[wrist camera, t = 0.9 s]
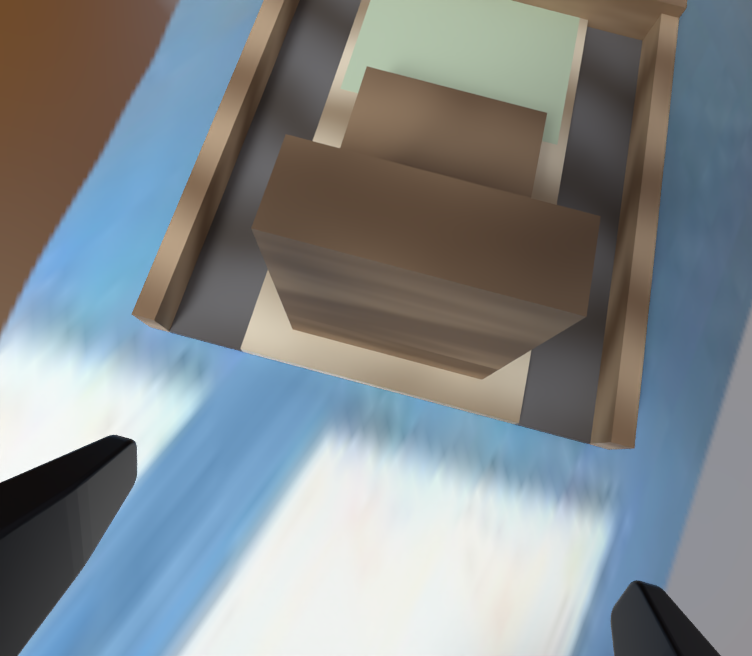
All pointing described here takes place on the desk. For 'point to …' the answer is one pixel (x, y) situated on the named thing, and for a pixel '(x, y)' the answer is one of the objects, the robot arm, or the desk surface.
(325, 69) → the wooden rectangular frame
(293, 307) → the bookend
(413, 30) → the pad
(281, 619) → the desk surface
